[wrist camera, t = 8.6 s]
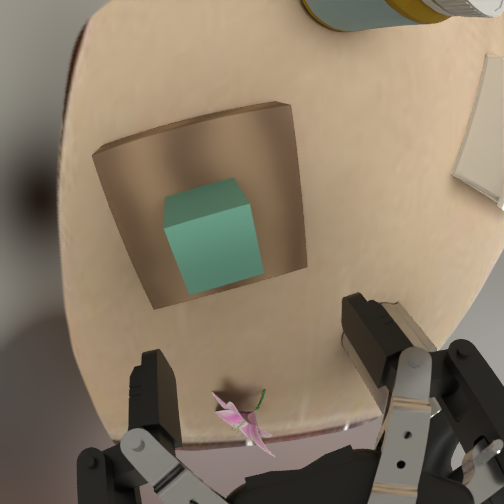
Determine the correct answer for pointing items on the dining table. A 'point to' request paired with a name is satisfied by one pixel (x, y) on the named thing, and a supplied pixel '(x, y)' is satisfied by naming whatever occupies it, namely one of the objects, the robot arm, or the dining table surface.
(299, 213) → the walnut base
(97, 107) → the dining table surface
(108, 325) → the dining table surface
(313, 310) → the dining table surface
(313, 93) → the dining table surface
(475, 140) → the butter dish
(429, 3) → the bottle
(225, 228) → the green cube
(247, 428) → the lily
